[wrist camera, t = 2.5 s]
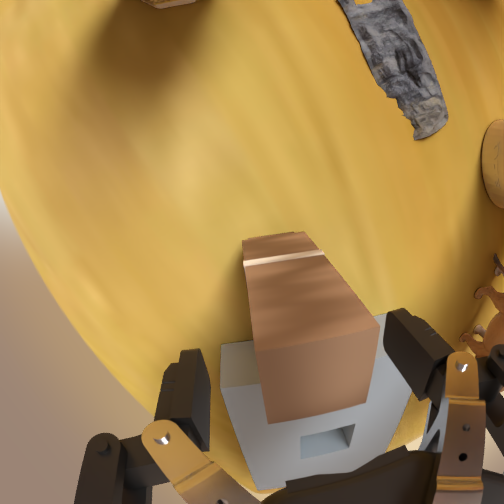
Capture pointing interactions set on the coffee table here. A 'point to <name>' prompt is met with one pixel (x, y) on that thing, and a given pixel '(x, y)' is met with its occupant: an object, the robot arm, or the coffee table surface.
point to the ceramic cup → (167, 3)
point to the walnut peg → (306, 329)
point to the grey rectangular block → (309, 421)
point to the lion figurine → (499, 328)
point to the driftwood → (399, 61)
